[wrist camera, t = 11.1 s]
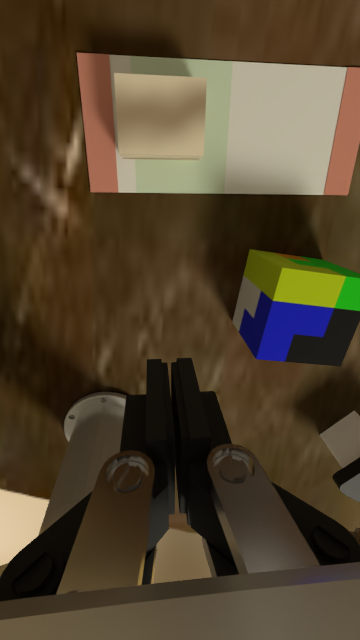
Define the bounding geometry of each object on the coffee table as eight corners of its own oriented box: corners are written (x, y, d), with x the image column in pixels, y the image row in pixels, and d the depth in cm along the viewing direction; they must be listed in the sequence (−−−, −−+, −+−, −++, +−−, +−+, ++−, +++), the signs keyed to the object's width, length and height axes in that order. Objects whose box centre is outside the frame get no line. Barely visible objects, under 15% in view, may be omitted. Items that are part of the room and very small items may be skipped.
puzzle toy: (232, 321, 41) (256, 359, 31) (249, 249, 37) (282, 267, 28) (299, 328, 42) (340, 366, 33) (322, 259, 38) (376, 280, 29)
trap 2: (118, 192, 33) (118, 192, 32) (91, 192, 32) (90, 192, 32) (109, 55, 28) (109, 54, 28) (77, 53, 28) (76, 52, 27)
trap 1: (346, 195, 35) (347, 195, 35) (322, 194, 35) (323, 194, 35) (374, 69, 30) (375, 68, 30) (346, 67, 30) (348, 67, 30)
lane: (322, 194, 35) (323, 194, 35) (118, 192, 33) (118, 192, 33) (346, 67, 30) (347, 67, 30) (109, 55, 28) (109, 54, 28)
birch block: (196, 160, 32) (203, 156, 28) (122, 158, 31) (118, 153, 27) (199, 93, 30) (206, 77, 26) (119, 89, 29) (113, 72, 25)
